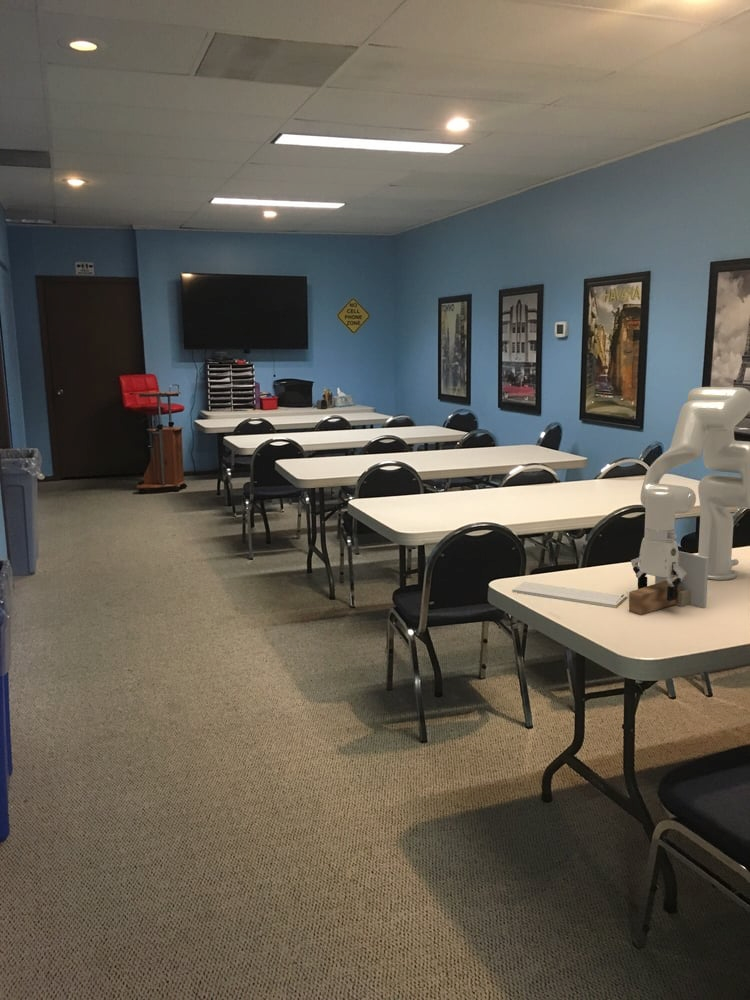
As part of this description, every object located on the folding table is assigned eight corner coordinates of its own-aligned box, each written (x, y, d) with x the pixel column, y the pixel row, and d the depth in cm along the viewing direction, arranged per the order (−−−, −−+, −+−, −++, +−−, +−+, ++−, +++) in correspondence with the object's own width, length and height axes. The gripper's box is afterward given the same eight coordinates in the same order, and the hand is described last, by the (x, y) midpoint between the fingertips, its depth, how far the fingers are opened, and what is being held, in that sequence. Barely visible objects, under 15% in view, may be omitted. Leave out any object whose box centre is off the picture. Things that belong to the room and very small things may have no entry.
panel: (657, 593, 226) (659, 546, 223) (706, 607, 212) (708, 557, 210) (645, 596, 223) (647, 549, 221) (694, 610, 210) (696, 560, 207)
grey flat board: (528, 584, 241) (512, 594, 231) (528, 575, 240) (512, 584, 230) (629, 598, 224) (616, 610, 214) (629, 588, 223) (616, 600, 213)
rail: (667, 598, 219) (667, 579, 218) (679, 602, 216) (679, 583, 215) (628, 611, 211) (629, 592, 210) (641, 615, 207) (641, 595, 206)
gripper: (695, 538, 205) (692, 600, 208) (642, 527, 219) (640, 586, 222) (677, 542, 201) (674, 606, 204) (624, 531, 215) (622, 590, 218)
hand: (656, 595), depth 213 cm, fingers open, 9 cm apart
